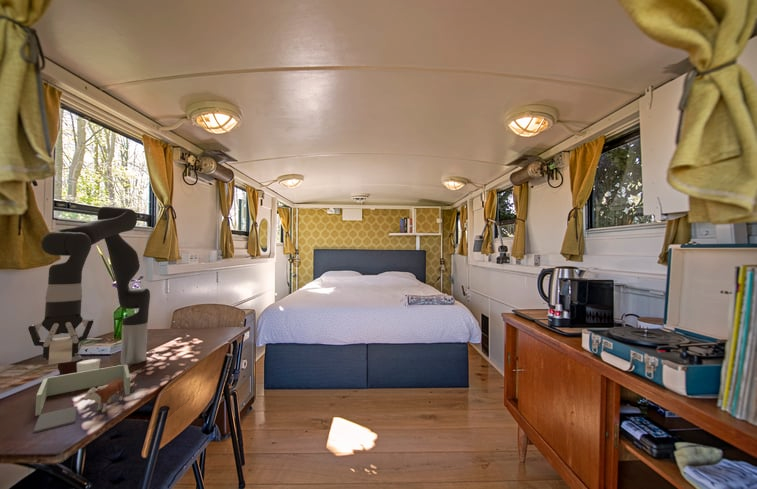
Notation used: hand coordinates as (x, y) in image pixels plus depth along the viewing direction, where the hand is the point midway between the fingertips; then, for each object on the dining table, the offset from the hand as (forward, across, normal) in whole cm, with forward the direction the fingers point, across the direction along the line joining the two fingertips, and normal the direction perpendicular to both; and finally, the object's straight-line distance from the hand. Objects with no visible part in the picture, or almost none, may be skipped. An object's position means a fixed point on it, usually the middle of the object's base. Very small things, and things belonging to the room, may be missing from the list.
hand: (60, 357), depth 91 cm
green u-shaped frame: (+18, -6, -16) cm, 25 cm away
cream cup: (+18, -6, -35) cm, 40 cm away
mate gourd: (+18, -1, -44) cm, 48 cm away
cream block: (+1, 0, 0) cm, 1 cm away
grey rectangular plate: (+18, 0, 0) cm, 18 cm away
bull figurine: (+18, -11, 0) cm, 21 cm away
